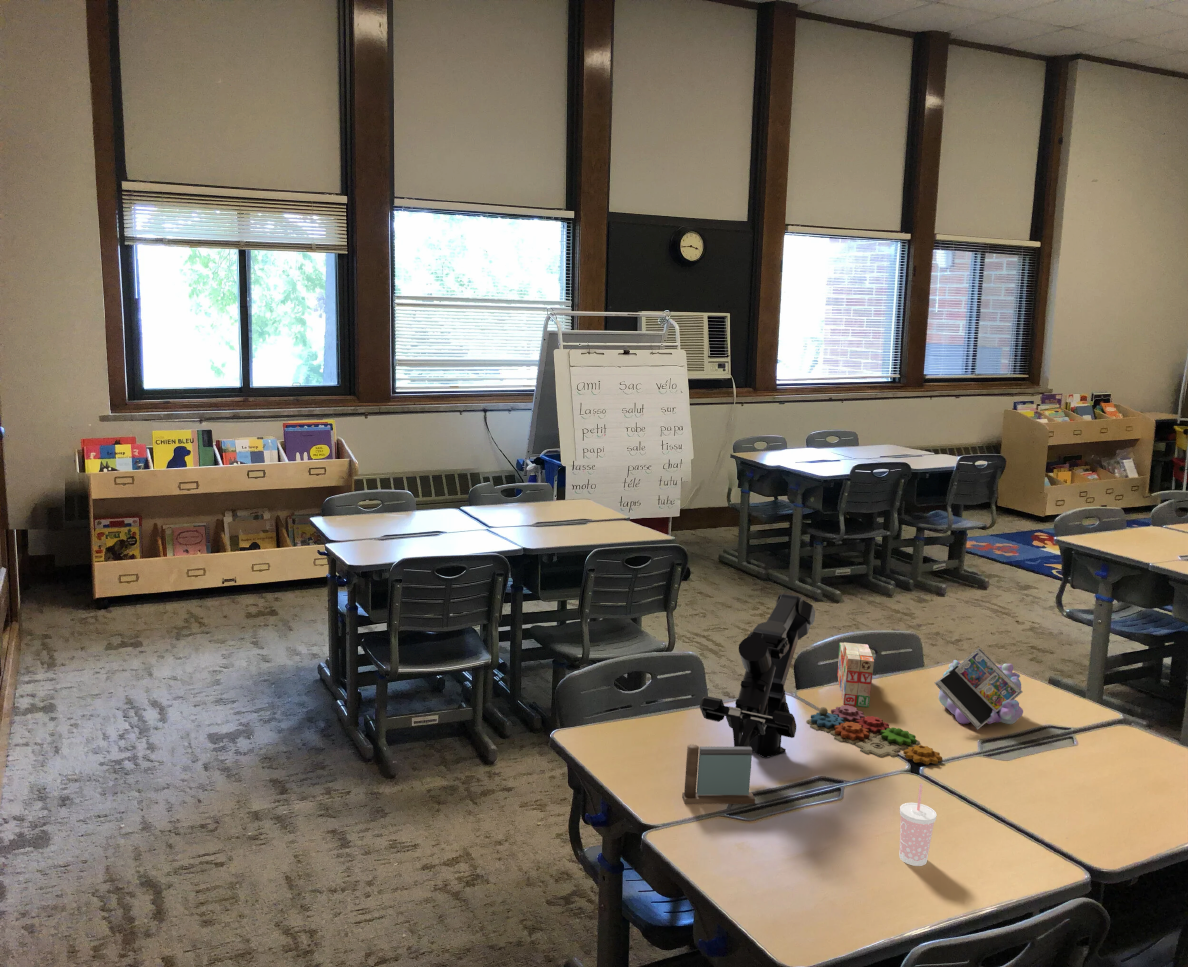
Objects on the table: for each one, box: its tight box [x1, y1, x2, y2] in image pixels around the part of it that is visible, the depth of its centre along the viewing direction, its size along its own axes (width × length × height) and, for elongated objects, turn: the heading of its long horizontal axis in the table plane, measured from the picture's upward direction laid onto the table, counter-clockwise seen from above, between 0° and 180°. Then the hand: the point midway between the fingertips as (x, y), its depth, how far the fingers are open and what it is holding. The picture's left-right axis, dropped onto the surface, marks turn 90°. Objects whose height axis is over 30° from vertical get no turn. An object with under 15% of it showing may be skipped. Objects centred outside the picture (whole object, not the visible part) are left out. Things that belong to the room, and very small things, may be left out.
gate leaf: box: [696, 746, 753, 795], centre depth 187 cm, size 1×10×9 cm, turn 95°
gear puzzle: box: [805, 704, 943, 765], centre depth 219 cm, size 31×16×4 cm, turn 36°
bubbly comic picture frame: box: [934, 647, 1024, 730], centre depth 234 cm, size 20×22×18 cm
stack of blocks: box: [837, 642, 875, 708], centre depth 248 cm, size 21×6×12 cm, turn 171°
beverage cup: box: [899, 783, 938, 867], centre depth 169 cm, size 6×6×14 cm
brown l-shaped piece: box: [681, 743, 756, 805], centre depth 187 cm, size 3×14×11 cm, turn 95°
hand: (737, 756), depth 189 cm, fingers closed
